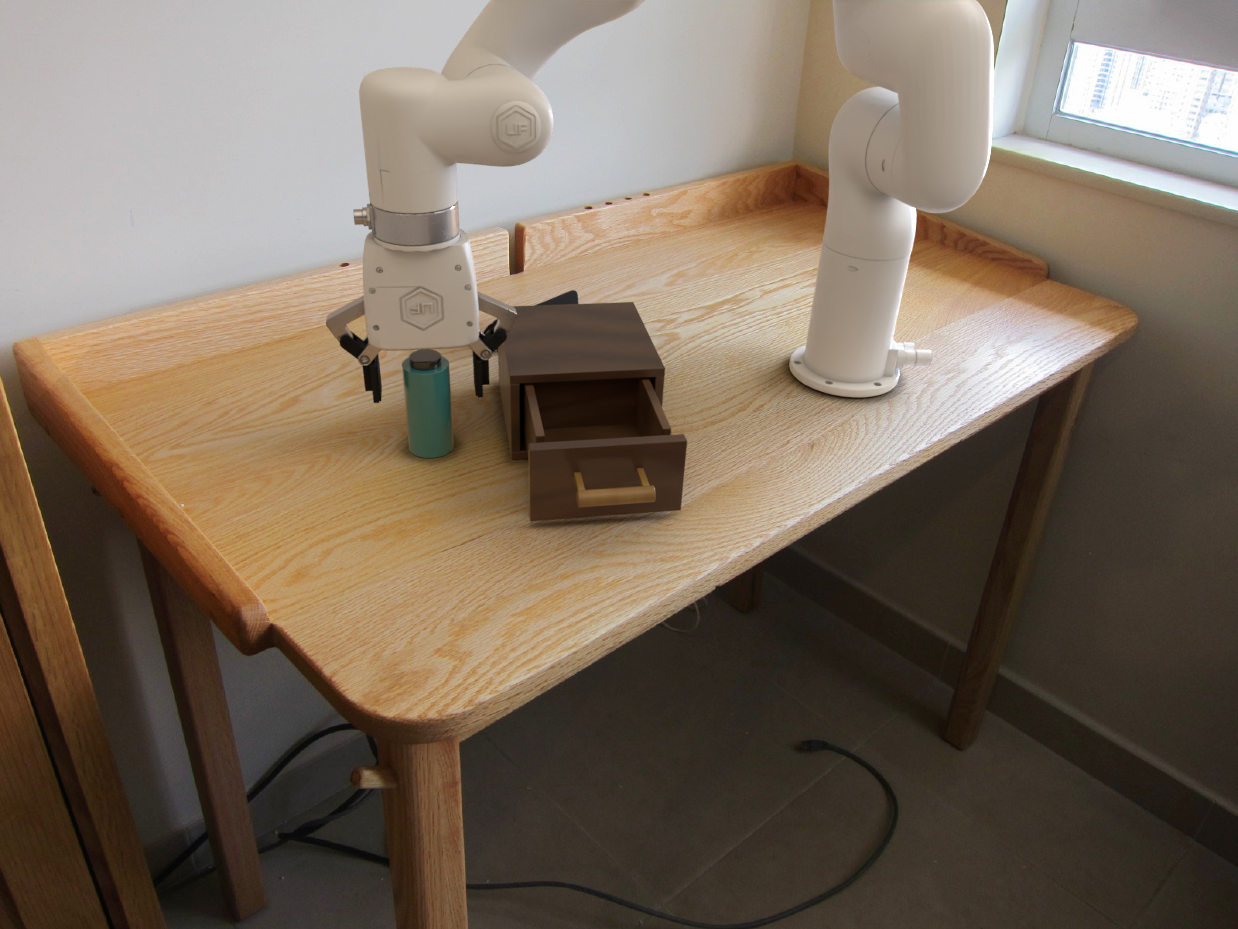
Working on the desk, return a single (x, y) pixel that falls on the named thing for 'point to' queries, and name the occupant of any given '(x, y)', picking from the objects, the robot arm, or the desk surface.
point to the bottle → (428, 403)
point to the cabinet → (572, 353)
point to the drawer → (600, 449)
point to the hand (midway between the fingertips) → (428, 393)
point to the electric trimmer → (562, 299)
